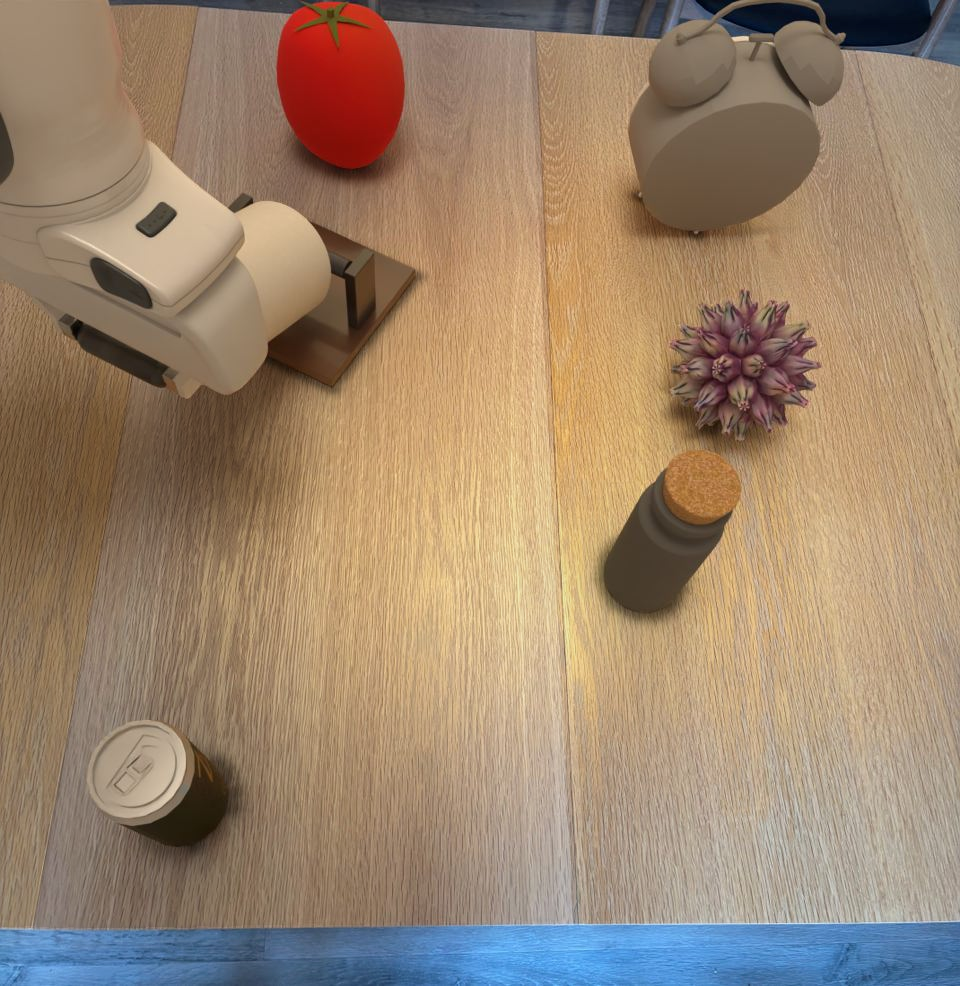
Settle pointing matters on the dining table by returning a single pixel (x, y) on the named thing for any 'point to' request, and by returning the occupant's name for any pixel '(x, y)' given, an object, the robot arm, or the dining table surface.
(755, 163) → the alarm clock
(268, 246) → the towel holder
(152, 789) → the beer can
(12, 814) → the dining table surface
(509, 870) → the dining table surface
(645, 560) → the bottle
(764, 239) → the dining table surface
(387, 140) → the tomato
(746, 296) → the flower
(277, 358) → the holder base
